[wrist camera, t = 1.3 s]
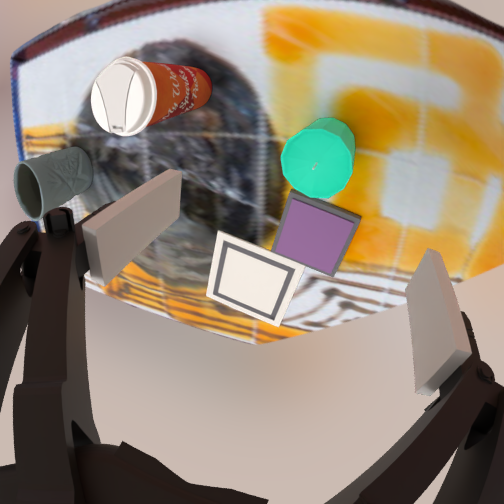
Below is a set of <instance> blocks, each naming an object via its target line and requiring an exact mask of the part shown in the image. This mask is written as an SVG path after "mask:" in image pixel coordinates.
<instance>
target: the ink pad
mask: <svg viewBox="0 0 504 504" xmlns="http://www.w3.org/2000/svg"><path fill="white" fill-rule="evenodd" d="M360 220H361V216H358V215H356V214H354V213H351V212H349V211H346V210H344V209H342V208H339V207H337V206H334V205H332V204H329V203H327V202H324V201H322V200H319V199H317V198H310V197H309V196H307V195H305V194H303V193H301V192H298V191H296V190H293V189H291V191H290V193H289V196H288V199H287V202H286V206H285V209H284V212H283V215H282V218H281V221H280V224H279V228H278V231H277V234H276V237H275V240H274V243H273V246H272V249H271V252H272V253H275V254H277V255H280V256H282V257H285V258H287V259H290V260H292V261H294V262H297V263H299V264H302V265H304V266H307V267H309V268H312V269H314V270H317V271H319V272H322V273H324V274H327V275H329V276H331V277H334V275H335V273H336V271H337V269H338V267H339V265H340V263H341V261H342V259H343V257H344V255H345V253H346V251H347V248H348V246H349V244H350V242H351V240H352V238H353V236H354V234H355V231H356V229H357V227H358V225H359V223H360Z"/></svg>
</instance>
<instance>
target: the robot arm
mask: <svg viewBox="0 0 504 504" xmlns="http://www.w3.org/2000/svg"><path fill="white" fill-rule="evenodd" d="M181 178H182V172H181V171H177V170H172V169H168V170H167V171H165V172H163V173H162V174H160V175H158V176H156V177H155V178H153V179H151V180H150V181H148V182H146V183H145V184H143V185H141V186H140V187H138V188H137V189H135V190H133V191H132V192H130V193H129V194H127V195H125V196H124V197H122V198H121V199H119V200H118V201H113V202H111V203H108V204H105V205H103V206H102V207H100V208H99V209H98V210H96V211H94V212H93V213H92V214H90V215H88V216H87V217H85V218H84V219H82V220H81V221H80V222H78V223H77V224H75V225H74V219H73V212H72V210H71V209H70V208H67V207H58V208H54V209H52V210H49V211H48V212H47V213H45V214H44V216H43V220H44V225H45V230H46V233H42V232H38V230H37V226H36V223H35V222H33V221H24V222H21V223H19V224H17V225H16V226H15V227H14V228H13V229H12V230H11V231H10V232H9V234H8V235H7V236H6V238H5V239H4V240H3V242H2V243H1V245H0V411H1V407H2V403H3V399H4V395H5V391H6V388H7V384H8V381H9V377H10V374H11V370H12V367H13V364H14V361H15V358H16V355H17V352H18V349H19V346H20V343H21V340H22V337H23V335H24V332H25V330H26V327H27V324H28V328H27V336H26V346H25V357H24V373H23V382H22V384H18V385H16V387H15V388H14V393H13V432H14V450H15V460H16V463H15V464H10V465H5V466H0V504H267V503H268V500H267V499H264V498H260V497H256V496H253V495H249V494H246V493H243V492H239V491H236V490H233V489H227V488H218V487H210V486H203V485H196V484H191V483H188V482H186V481H185V480H183V479H182V478H180V477H179V476H178V475H176V474H175V473H174V472H172V471H171V470H170V469H168V468H167V467H166V466H165V465H163V464H162V463H161V462H159V461H158V460H157V459H156V458H154V457H152V456H150V455H148V454H146V453H144V452H142V451H140V450H138V449H136V448H134V447H132V446H131V445H129V444H127V443H125V442H123V441H122V443H121V445H120V446H116V445H110V444H101V442H100V438H99V435H98V432H97V429H96V427H95V424H94V420H93V414H92V408H91V399H90V391H89V381H88V370H87V358H86V340H85V338H86V337H85V277H84V274H85V273H86V272H87V271H88V270H89V269H90V274H91V279H92V281H94V282H96V283H98V284H100V285H102V286H104V287H105V286H106V285H107V284H108V283H109V282H110V281H111V280H112V279H113V278H114V277H115V276H116V275H117V274H118V273H119V272H120V271H121V270H122V269H123V268H124V267H125V266H126V265H128V264H129V263H130V262H131V261H132V260H133V259H134V258H135V257H136V256H137V255H138V254H139V253H140V252H141V251H142V250H143V249H144V248H146V247H147V246H148V245H149V244H150V243H151V242H152V241H153V240H154V239H155V238H156V237H157V236H159V235H160V234H161V233H162V232H163V231H164V230H165V229H166V228H167V227H169V226H170V225H171V224H172V223H173V222H174V221H175V220H176V219H178V218H179V209H180V192H181ZM20 268H21V269H22V271H21V273H20ZM405 291H406V298H407V305H408V312H409V319H410V328H411V336H412V347H413V360H414V374H415V393H418V394H422V395H428V396H431V395H432V394H433V393H434V392H435V391H436V390H437V389H438V388H439V390H440V396H439V397H438V398H437V399H436V400H435V401H434V402H432V403H431V404H430V405H429V406H428V407H427V408H426V409H424V410H425V412H424V414H423V415H422V416H421V417H420V418H419V419H418V420H417V422H416V423H415V424H414V425H413V426H412V427H411V428H410V429H409V430H408V431H407V432H406V433H405V434H404V435H403V436H402V437H401V438H400V439H399V440H398V442H396V443H395V444H394V446H392V447H391V448H390V449H389V450H388V451H387V452H386V453H385V454H384V455H383V456H382V457H381V458H380V459H379V460H378V461H377V462H376V463H374V464H373V465H372V466H371V467H370V468H369V469H368V470H366V471H365V472H364V473H363V474H362V475H361V476H359V477H358V478H357V479H356V480H355V481H353V482H352V483H351V484H350V485H348V486H347V487H346V488H345V489H343V490H342V491H341V492H339V493H338V494H337V495H335V496H334V497H333V498H331V499H330V500H329V501H328V502H326V503H325V504H414V502H415V501H416V500H417V499H418V498H419V497H420V496H421V495H422V493H423V492H424V491H425V490H426V489H427V488H428V486H429V485H430V484H431V483H432V481H433V480H434V479H435V478H436V476H437V475H438V474H439V473H440V471H441V470H442V469H443V467H444V466H445V464H446V463H447V462H448V460H449V459H450V457H451V456H452V455H453V453H454V451H455V450H456V449H457V448H458V449H457V451H456V454H455V456H454V459H453V462H452V464H451V466H450V469H449V471H448V473H447V475H446V478H445V480H444V482H443V484H442V486H441V489H440V491H439V492H438V495H437V497H436V499H435V501H434V502H433V504H504V387H503V386H501V385H500V384H498V383H496V382H495V378H494V373H493V371H492V369H491V368H490V367H489V365H488V364H486V363H485V362H483V361H481V359H480V355H479V351H478V347H477V344H476V340H475V339H474V337H475V336H474V333H473V331H472V330H473V329H472V326H471V323H470V320H469V319H468V317H467V315H466V314H465V312H462V311H460V308H459V305H458V301H457V298H456V295H455V292H454V289H453V286H452V283H451V281H450V278H449V275H448V272H447V270H446V267H445V264H444V262H443V259H442V257H441V254H440V252H437V251H434V250H432V249H429V248H427V250H426V252H425V254H424V256H423V258H422V260H421V262H420V264H419V266H418V268H417V269H416V271H415V273H414V275H413V277H412V278H411V280H410V282H409V284H408V285H407V287H406V289H405Z"/></svg>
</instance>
